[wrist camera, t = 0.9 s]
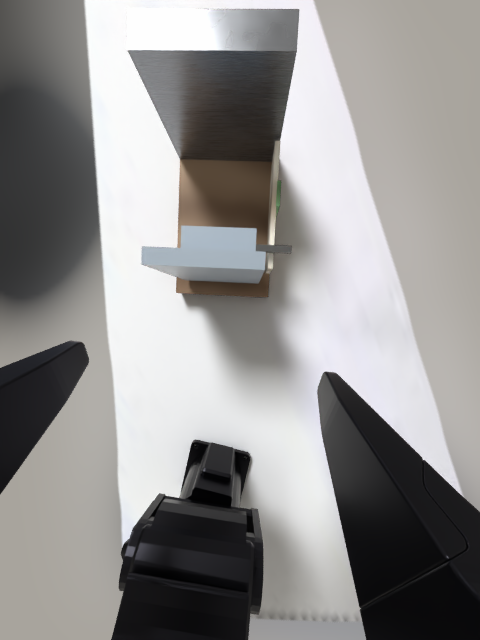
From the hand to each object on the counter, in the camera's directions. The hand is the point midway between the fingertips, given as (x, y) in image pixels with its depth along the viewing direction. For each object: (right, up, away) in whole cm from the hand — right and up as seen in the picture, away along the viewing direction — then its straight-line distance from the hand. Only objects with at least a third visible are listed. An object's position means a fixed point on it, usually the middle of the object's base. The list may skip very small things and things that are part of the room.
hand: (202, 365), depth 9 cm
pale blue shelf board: (+1, +7, +13) cm, 15 cm away
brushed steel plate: (0, +18, +13) cm, 22 cm away
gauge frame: (0, +11, +15) cm, 19 cm away
